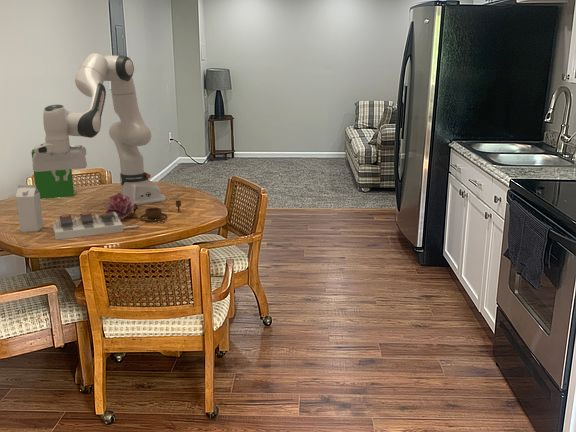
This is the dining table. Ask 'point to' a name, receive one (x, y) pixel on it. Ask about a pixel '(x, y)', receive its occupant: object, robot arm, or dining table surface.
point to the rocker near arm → (106, 216)
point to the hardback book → (53, 183)
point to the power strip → (89, 227)
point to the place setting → (156, 214)
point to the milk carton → (29, 208)
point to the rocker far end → (66, 220)
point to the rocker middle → (86, 218)
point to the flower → (121, 206)
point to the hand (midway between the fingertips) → (61, 180)
